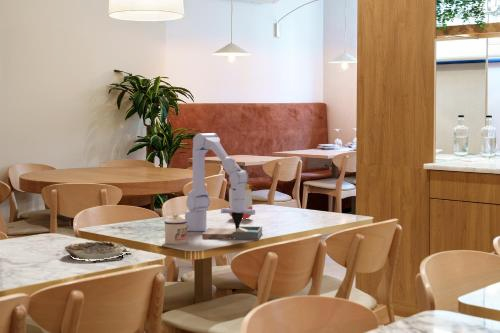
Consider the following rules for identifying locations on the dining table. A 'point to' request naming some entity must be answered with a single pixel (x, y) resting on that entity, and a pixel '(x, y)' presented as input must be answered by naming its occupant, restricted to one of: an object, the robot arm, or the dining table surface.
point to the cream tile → (241, 230)
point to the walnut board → (218, 233)
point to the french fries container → (247, 200)
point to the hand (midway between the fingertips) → (237, 230)
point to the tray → (248, 233)
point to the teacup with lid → (175, 230)
